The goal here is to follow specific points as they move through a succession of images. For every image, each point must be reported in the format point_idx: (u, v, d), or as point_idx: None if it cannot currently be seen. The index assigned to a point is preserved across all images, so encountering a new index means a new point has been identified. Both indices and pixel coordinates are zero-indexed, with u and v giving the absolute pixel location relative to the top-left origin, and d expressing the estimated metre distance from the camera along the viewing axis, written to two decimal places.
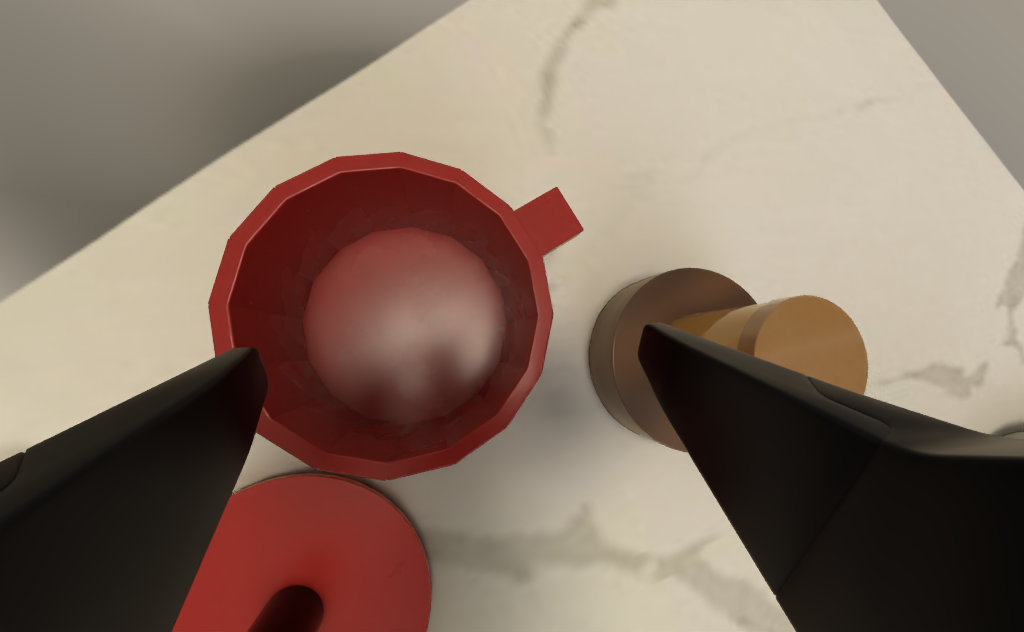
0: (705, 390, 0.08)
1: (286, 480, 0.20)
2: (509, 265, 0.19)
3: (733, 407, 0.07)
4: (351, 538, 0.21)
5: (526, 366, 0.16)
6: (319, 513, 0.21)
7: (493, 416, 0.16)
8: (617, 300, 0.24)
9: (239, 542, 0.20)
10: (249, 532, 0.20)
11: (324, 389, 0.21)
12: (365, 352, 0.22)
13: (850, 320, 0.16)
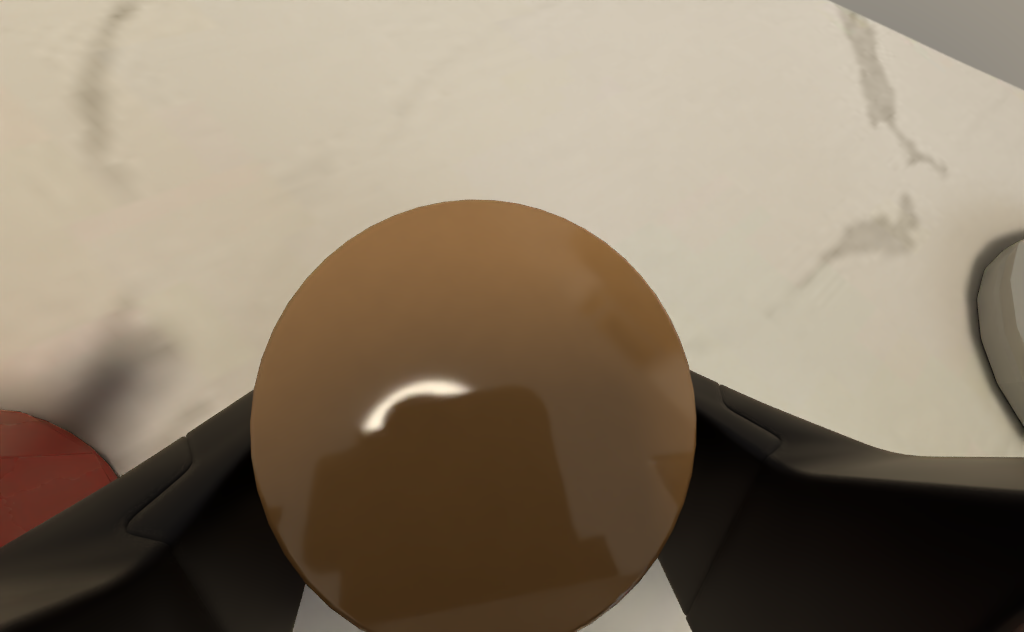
0: None
1: None
2: None
3: None
4: None
5: None
6: None
7: None
8: None
9: None
10: None
11: None
12: None
13: (560, 221, 0.06)
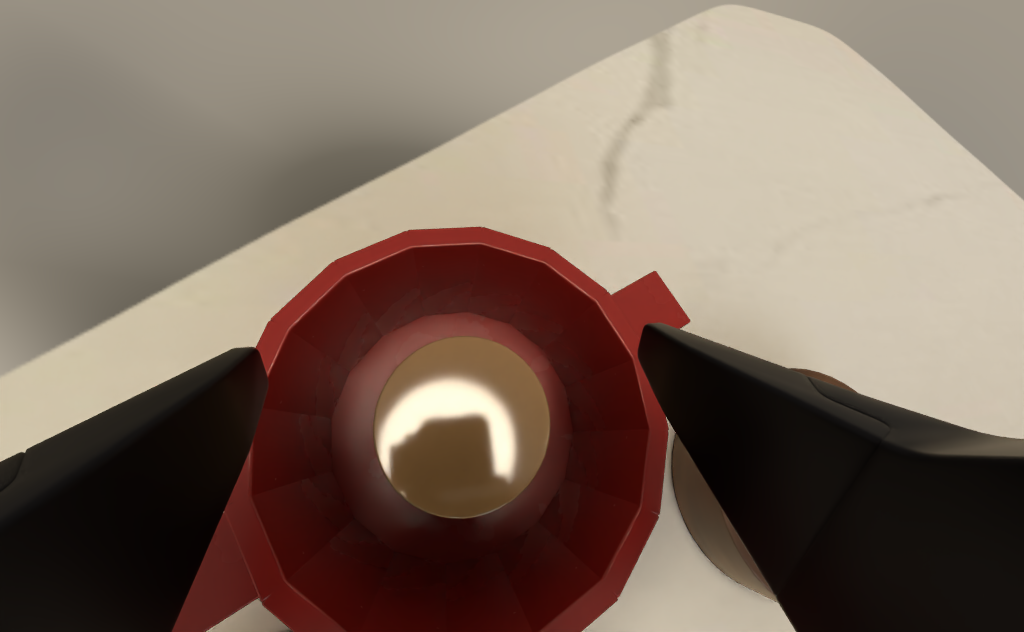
0: (705, 390, 0.08)
1: None
2: (593, 361, 0.16)
3: (733, 407, 0.07)
4: None
5: (638, 503, 0.12)
6: None
7: (598, 582, 0.11)
8: None
9: None
10: None
11: (348, 511, 0.17)
12: None
13: (496, 344, 0.13)
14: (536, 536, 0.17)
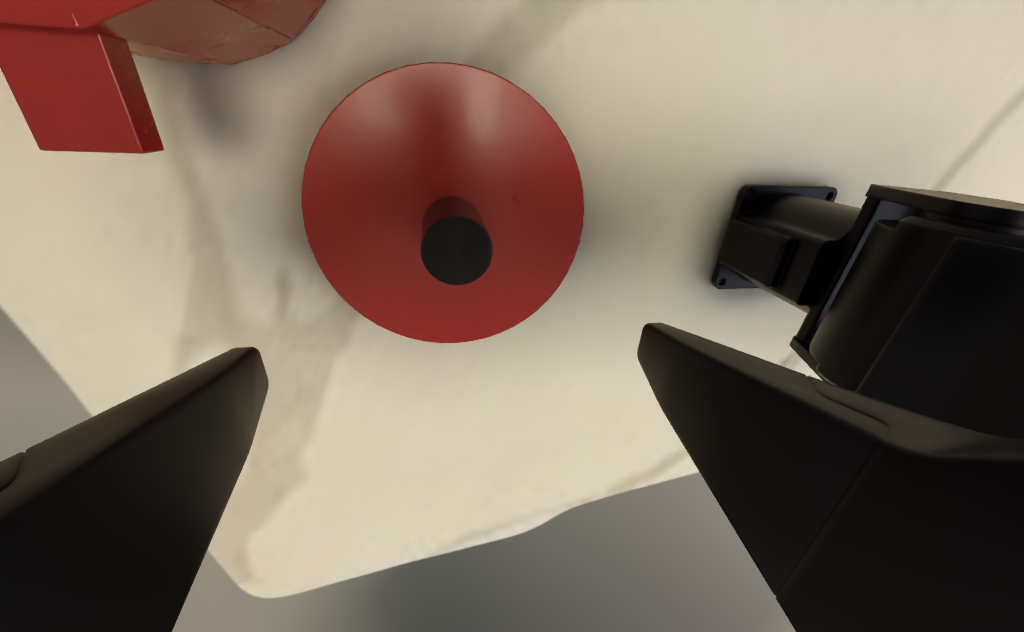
0: (705, 390, 0.08)
1: (312, 155, 0.17)
2: None
3: (733, 407, 0.07)
4: (416, 133, 0.17)
5: None
6: (369, 146, 0.17)
7: None
8: None
9: (355, 230, 0.19)
10: (350, 218, 0.18)
11: None
12: None
13: None
14: None
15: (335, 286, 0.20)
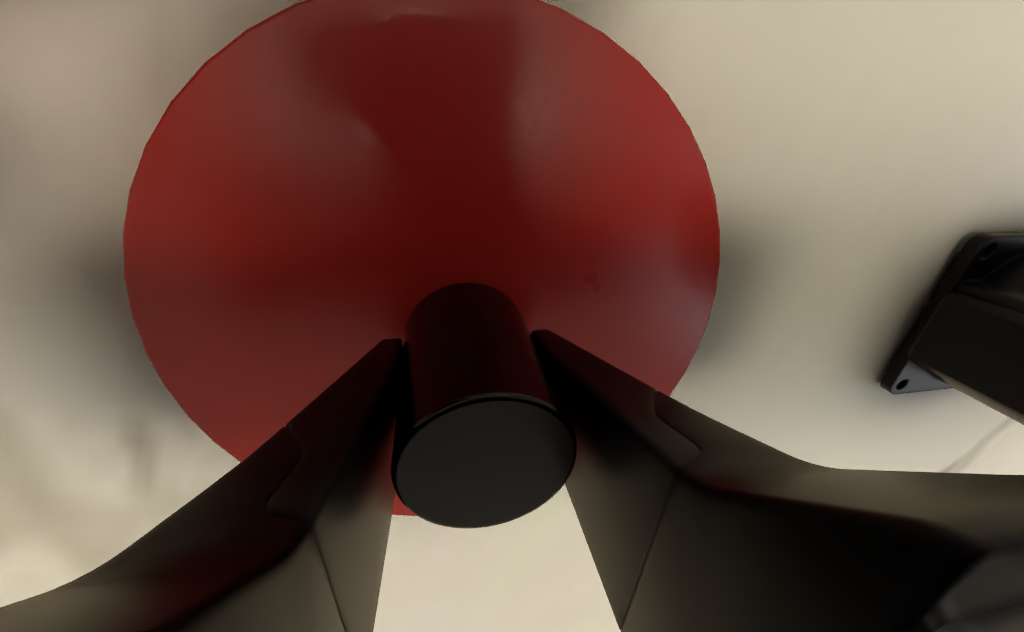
0: (566, 404, 0.07)
1: (136, 209, 0.07)
2: None
3: (583, 423, 0.07)
4: (385, 154, 0.07)
5: None
6: (275, 186, 0.07)
7: None
8: None
9: (263, 355, 0.09)
10: (248, 334, 0.09)
11: None
12: None
13: None
14: None
15: (234, 453, 0.10)
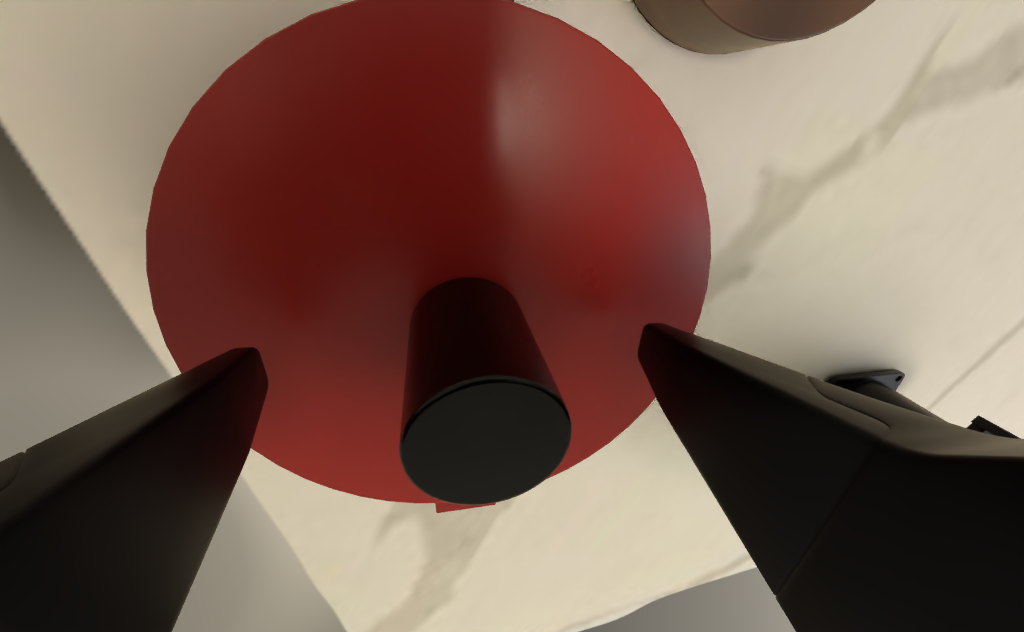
0: (705, 390, 0.08)
1: (159, 207, 0.08)
2: None
3: (733, 407, 0.07)
4: (392, 155, 0.08)
5: None
6: (289, 185, 0.08)
7: None
8: None
9: (275, 346, 0.09)
10: (261, 325, 0.09)
11: None
12: None
13: None
14: None
15: None
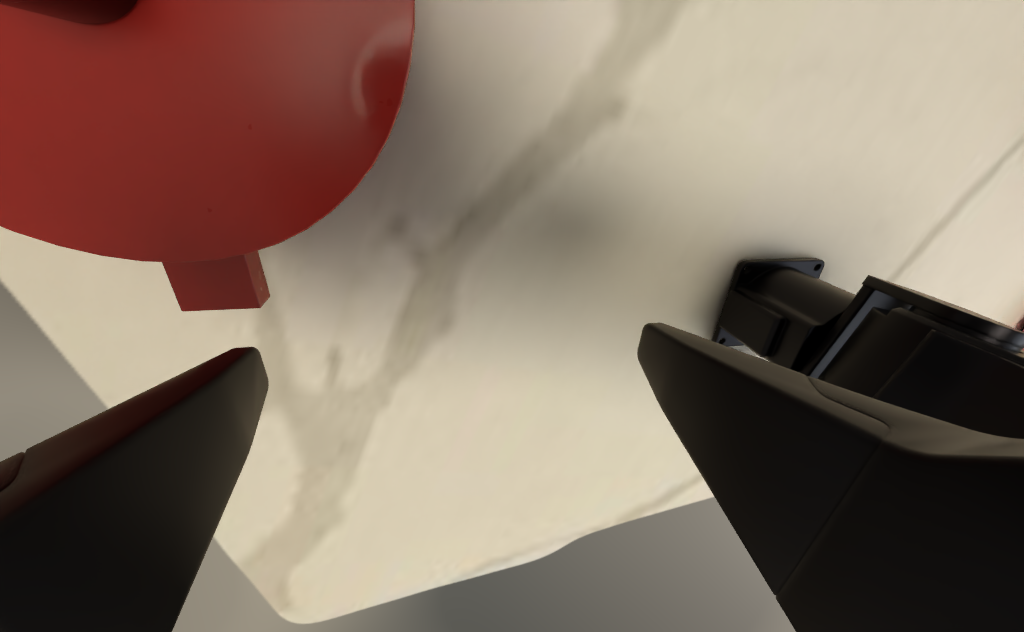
0: (705, 390, 0.08)
1: None
2: None
3: (733, 407, 0.07)
4: None
5: None
6: None
7: None
8: None
9: None
10: None
11: None
12: None
13: None
14: None
15: None
